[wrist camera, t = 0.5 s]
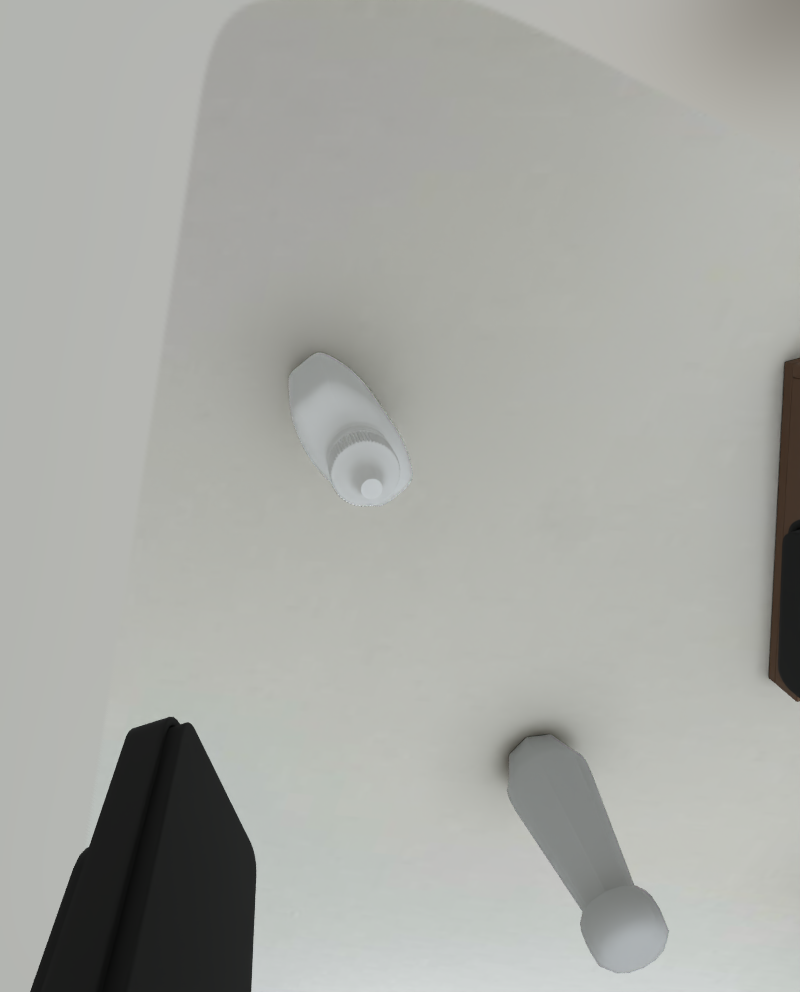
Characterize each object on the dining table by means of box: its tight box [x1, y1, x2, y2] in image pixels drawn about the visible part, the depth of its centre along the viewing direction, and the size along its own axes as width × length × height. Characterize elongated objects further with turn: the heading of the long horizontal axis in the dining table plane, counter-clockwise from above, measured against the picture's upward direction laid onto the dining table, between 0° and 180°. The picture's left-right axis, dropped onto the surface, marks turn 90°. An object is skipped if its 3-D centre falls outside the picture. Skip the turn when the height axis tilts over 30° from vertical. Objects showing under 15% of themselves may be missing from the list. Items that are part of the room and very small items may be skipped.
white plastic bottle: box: [288, 352, 413, 507], centre depth 24 cm, size 4×6×12 cm
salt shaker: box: [507, 734, 669, 973], centre depth 35 cm, size 6×6×13 cm
